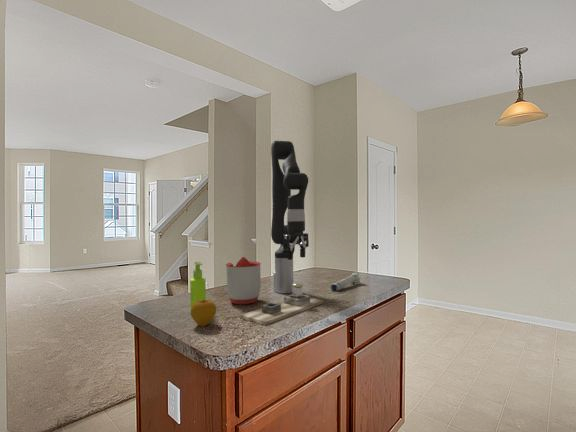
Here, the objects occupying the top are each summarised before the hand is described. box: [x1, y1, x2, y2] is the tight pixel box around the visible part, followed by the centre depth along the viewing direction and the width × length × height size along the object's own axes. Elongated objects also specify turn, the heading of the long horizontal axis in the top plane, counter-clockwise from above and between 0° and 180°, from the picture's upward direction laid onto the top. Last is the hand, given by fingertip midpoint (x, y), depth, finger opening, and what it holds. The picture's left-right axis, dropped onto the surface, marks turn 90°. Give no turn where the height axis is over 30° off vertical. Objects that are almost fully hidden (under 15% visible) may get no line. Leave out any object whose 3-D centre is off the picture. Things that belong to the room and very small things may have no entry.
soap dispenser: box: [189, 261, 207, 309], centre depth 130 cm, size 6×7×20 cm
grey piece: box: [330, 272, 361, 292], centre depth 171 cm, size 5×7×25 cm
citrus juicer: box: [225, 256, 262, 306], centre depth 146 cm, size 16×17×20 cm
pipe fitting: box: [291, 282, 304, 299], centre depth 137 cm, size 4×4×8 cm
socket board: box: [240, 294, 324, 326], centre depth 131 cm, size 13×36×4 cm, turn 140°
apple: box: [190, 299, 217, 327], centre depth 114 cm, size 9×9×9 cm
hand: (296, 258), depth 137 cm, fingers open, 8 cm apart
